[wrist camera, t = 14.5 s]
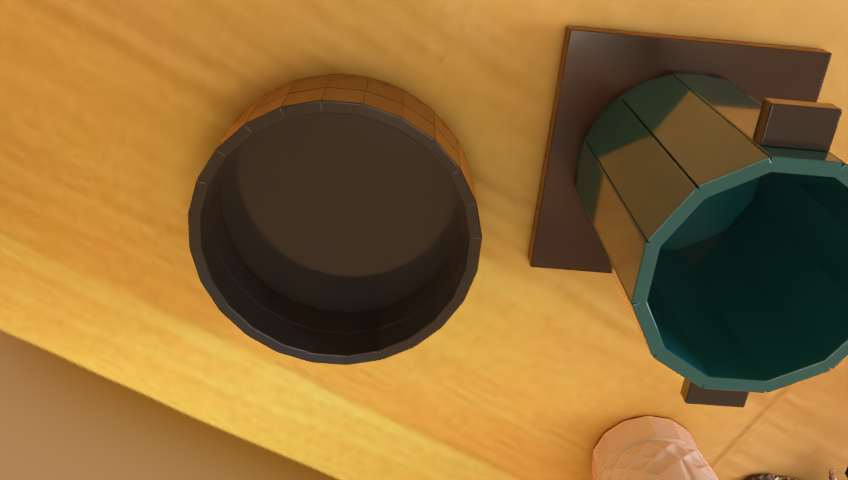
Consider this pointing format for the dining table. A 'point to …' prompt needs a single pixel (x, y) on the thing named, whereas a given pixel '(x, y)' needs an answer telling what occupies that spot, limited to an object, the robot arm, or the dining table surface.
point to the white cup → (649, 452)
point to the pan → (337, 221)
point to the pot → (723, 231)
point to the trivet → (616, 74)
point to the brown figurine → (832, 476)
